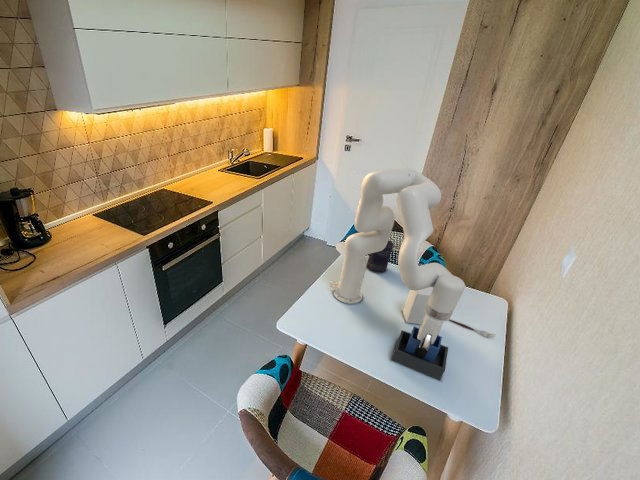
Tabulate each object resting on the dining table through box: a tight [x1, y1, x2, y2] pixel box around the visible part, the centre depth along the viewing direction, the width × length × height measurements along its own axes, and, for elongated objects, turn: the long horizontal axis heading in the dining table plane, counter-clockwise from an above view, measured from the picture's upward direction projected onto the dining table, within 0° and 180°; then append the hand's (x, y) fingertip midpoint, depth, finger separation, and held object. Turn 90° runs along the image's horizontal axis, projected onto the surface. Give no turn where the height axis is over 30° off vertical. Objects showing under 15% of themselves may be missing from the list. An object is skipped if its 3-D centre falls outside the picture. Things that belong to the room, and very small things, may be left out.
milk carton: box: [402, 287, 434, 325], centre depth 129 cm, size 7×7×19 cm
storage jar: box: [366, 239, 394, 274], centre depth 163 cm, size 10×10×15 cm
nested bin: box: [405, 326, 443, 362], centre depth 112 cm, size 9×7×6 cm
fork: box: [449, 319, 496, 338], centre depth 128 cm, size 3×16×2 cm, turn 49°
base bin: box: [390, 330, 449, 381], centre depth 114 cm, size 16×12×5 cm
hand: (421, 348), depth 113 cm, fingers closed on nested bin, 7 cm apart
